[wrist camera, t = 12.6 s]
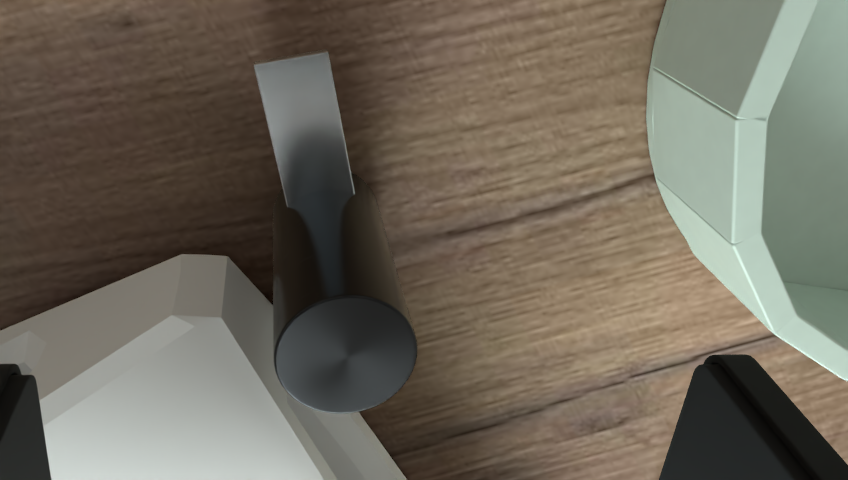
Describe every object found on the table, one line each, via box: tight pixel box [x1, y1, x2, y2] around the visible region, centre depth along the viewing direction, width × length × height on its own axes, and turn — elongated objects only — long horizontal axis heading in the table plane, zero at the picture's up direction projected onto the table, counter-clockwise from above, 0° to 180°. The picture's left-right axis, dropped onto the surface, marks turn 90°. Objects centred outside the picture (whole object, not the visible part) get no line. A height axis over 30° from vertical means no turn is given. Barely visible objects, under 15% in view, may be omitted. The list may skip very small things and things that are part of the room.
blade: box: [254, 49, 417, 414], centre depth 19 cm, size 10×3×7 cm, turn 7°
